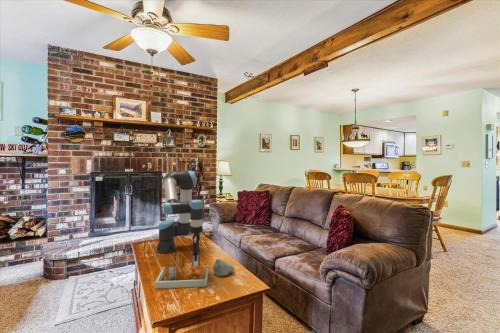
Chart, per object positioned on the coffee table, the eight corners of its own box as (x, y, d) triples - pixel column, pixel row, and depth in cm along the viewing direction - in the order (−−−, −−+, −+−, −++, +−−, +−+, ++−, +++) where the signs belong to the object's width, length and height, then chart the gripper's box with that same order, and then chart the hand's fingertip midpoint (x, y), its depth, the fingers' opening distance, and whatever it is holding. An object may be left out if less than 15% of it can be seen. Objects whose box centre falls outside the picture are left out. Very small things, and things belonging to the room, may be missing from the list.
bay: (162, 273, 156) (162, 266, 155) (209, 272, 159) (209, 265, 159) (154, 288, 137) (154, 280, 137) (207, 286, 141) (207, 278, 141)
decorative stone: (212, 278, 150) (222, 266, 148) (209, 265, 159) (218, 254, 158) (228, 284, 156) (238, 272, 155) (224, 271, 165) (233, 260, 164)
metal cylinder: (169, 277, 151) (169, 266, 151) (176, 277, 151) (176, 265, 151) (168, 280, 147) (168, 268, 147) (175, 280, 147) (175, 268, 147)
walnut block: (192, 263, 153) (192, 251, 153) (200, 262, 153) (200, 251, 153) (192, 266, 148) (192, 254, 148) (199, 265, 149) (199, 254, 149)
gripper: (191, 222, 159) (191, 258, 159) (188, 229, 141) (187, 270, 141) (203, 222, 160) (203, 258, 160) (201, 229, 142) (201, 270, 142)
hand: (196, 264), depth 151 cm, fingers closed on walnut block, 4 cm apart
